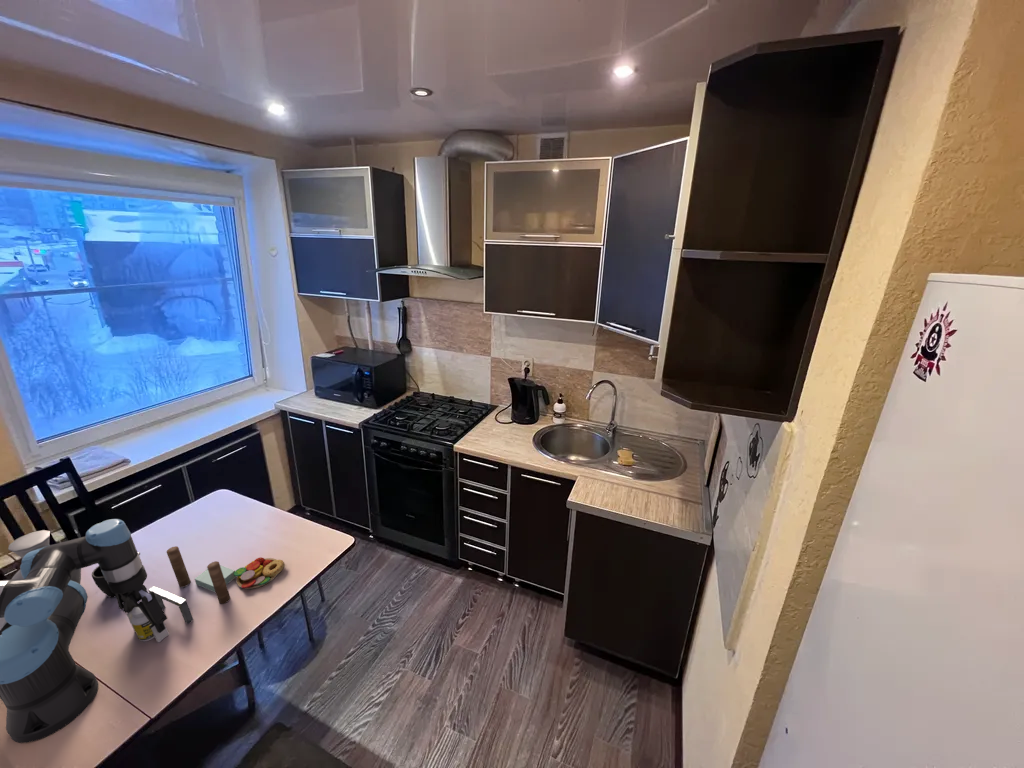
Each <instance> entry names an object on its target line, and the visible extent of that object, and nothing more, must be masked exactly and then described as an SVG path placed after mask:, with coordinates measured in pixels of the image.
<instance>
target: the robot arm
mask: <svg viewBox="0 0 1024 768" xmlns="http://www.w3.org/2000/svg"><path fill="white" fill-rule="evenodd" d="M140 555H141V552H139V551H138V550H137V548H136V545H135V542H134V540H133V537H132V533H131V531H130V530H129V528H128V526H127V525H126V523H125V521H124V520H122V519H120V518H111V519H106V520H103V521H102V522H99V523H96V524H94V525H92V526H91V527H90V528H89V529H87V531H86V532H85V536H82V537H81V536H80V537H78V538H73V539H71V540H65V541H62V542H58V543H54V544H49V546H45V547H43V548H40V549H37V550H34V551H31V552H29V553H27V554H26V555H25V556H24V557H23V559H22V558H21V564H20V566H19V568H20V569H19V570H20V571H21V575H22V577H23V578H24V579H15V580H11V579H3V580H0V700H1V701H2V703H3V704H4V705H5V707H6V720H5V721H6V722H5V728H6V733H7V735H8V736H9V737H10V738H11V740H12V741H13V742H16V743H19V744H27V743H32V742H36V741H39V740H42V739H44V738H47V737H48V736H51V735H53V734H55V733H56V732H58V731H60V730H62V729H63V728H65V727H66V726H68V725H69V724H70V723H72V722H73V721H75V720H76V718H78V717H79V716H80V715H81V714H82V713H84V712H85V710H86V709H87V708H88V707H89V705H90V704H91V703H92V702H93V700H94V699H95V697H96V695H97V693H98V689H99V681H98V679H97V677H96V676H95V673H93V672H92V671H90V670H88V669H85V668H84V667H82V666H80V665H78V664H77V663H76V661H75V660H74V658H73V656H72V655H71V652H70V651H69V647H70V644H71V641H72V639H73V636H74V634H75V632H76V629H77V626H78V625H79V622H80V620H81V617H82V616H83V615H84V613H85V611H86V606H87V602H88V593H87V591H86V588H85V587H84V586H83V585H82V584H81V583H80V584H79V583H77V582H74V581H71V580H70V579H71V577H72V575H73V573H74V571H75V570H78V569H81V570H82V569H84V568H88V567H90V566H93V565H96V564H98V566H100V569H101V571H102V573H103V576H104V578H105V580H106V581H107V583H108V585H109V588H110V590H111V592H112V593H114V594H115V595H116V597H115V598H116V602H117V605H118V609H119V610H121V611H122V610H123V612H124V613H125V614H126V616H127V617H128V620H129V621H128V622H129V623H130V625H131V627H132V629H133V631H134V632H136V631H135V629H134V627H133V625H132V622H131V619H132V617H133V616H132V613H131V612H132V610H133V608H134V607H139V608H140V609H141V611H142V612H143V613H144V615H145V616H146V617H147V619H148V620H149V622H150V623H151V625H150V626H149V628H151V629H152V632H153V634H154V636H155V637H154V638H155V640H156V643H158V644H159V643H160V642H161V641H163V640H164V639H165V638H167V636H169V635H170V634H169V631H168V629H167V626H166V624H165V621H167V619H168V616H167V615H166V614H165V611H164V609H162V608H161V606H160V605H159V603H158V601H157V599H156V597H155V594H154V592H153V591H151V592H149V591H148V588H147V586H146V585H144V583H145V582H146V580H147V579H148V573H147V571H146V568H145V566H144V564H143V561H142V559H141V557H140Z"/></svg>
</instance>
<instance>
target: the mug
mask: <svg viewBox="0 0 1024 768" xmlns="http://www.w3.org/2000/svg"><path fill="white" fill-rule="evenodd" d="M91 577H92V579H93V582H94V583H95V585H96V586H97V588H98V589H99V590H100V591H101V592H102V593H104V594H105V595H106V596H107V597H108V598H111V599H112V598H116V595H115V594H114V593H112V592H111V590H110V588H109V585H108V583H107V581H106V580H105V578H104V576H103V573H102V571H101V569H100V566H99V565H98V566H97V567H95V568H94V569H93V571H92V572H91Z"/></svg>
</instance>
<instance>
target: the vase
mask: <svg viewBox="0 0 1024 768" xmlns="http://www.w3.org/2000/svg"><path fill="white" fill-rule="evenodd" d="M50 534H51V531H50V530H45V529H42V530H37V531H33V532H29V533H27V534H25V535H22V536H19V537H18V538H16V539H15V540H13V542H11V543H10V544H8V549H7V550H8V551H10V552H12V553H14V554H16V555H17V556H19V557H20V558H21V560H22V559H23V557H24V556H25V555H26V554H27V553H29V552H31V551H34V550H37V549H40V548H43V547H45V546H49V545H50ZM15 579H24V578H23V577H22V575H21V571H20V569H19V570H17V571H16V573H15V574H14V575H13V576H12V577H11V579H10V580H15ZM81 579H82V568H81V569H78V570H75V571H74V573H73V575H72V577H71V579H70V580H71V581H74V582H77V583H79V584H80V585H81V583H82V582H81Z"/></svg>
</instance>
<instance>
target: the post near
mask: <svg viewBox="0 0 1024 768" xmlns="http://www.w3.org/2000/svg"><path fill="white" fill-rule="evenodd" d="M206 568H207V569H208V571H209V574H210V577H211V580H212V583H213V586H214V589H215V592H214V593H215V596H216V598H217V600H218V603H219V604H220V605H222V604H226V603H228V602H229V601H230V600H231V594H230V593H229V589H228V587H227V586H228V585H227V584H226V582H225V579H224V576H223V573H222V570H221V567H220V562H219V560H218V561H212V562H211V563H209V564H208V565H207V567H206Z"/></svg>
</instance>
